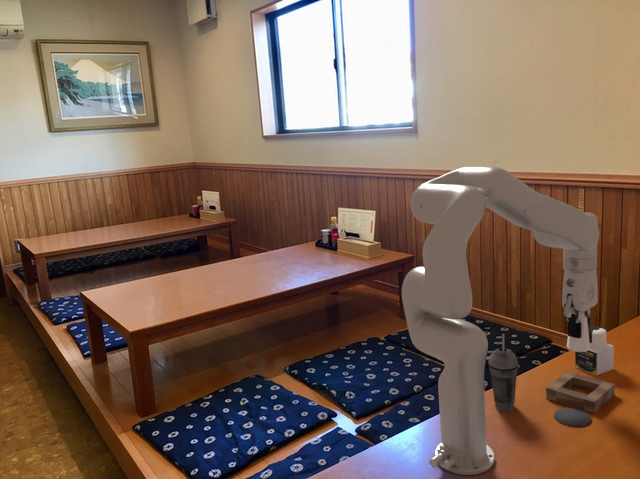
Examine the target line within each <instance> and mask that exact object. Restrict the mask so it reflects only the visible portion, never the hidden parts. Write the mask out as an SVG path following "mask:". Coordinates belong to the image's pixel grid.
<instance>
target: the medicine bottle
mask: <svg viewBox="0 0 640 479" xmlns="http://www.w3.org/2000/svg"><path fill="white" fill-rule="evenodd" d="M589 342H590V350H588V351H586V352H575V351H574V353H575V354H574V357H575V358H574V360H575V363H574V364H575V368H577V369H579V370H581V371H584V372H585V373H588V374H591V375H594V376H599V375H602V374H605V373H607V372H611V371H613V370H614V368H615V364H614V362H615V361H614V360H615V347H614V345H613V344H609V343H607V330H606V329H605V328H603V327H600V326H597V325H596V326H595V325H590V331H589Z"/></svg>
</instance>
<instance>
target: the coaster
mask: <svg viewBox="0 0 640 479" xmlns="http://www.w3.org/2000/svg"><path fill="white" fill-rule="evenodd" d="M554 419H555V420H556V421H557V422H558V423H559V424H561V425H565V426H568V427H574V428H583V427H586V426H588V425H589V424H591V422H592V417H591V415H590V414H589V413H588V412H587V411H584V410H581V409H578V408H575V407H563V408H559V409H557V410H555V412H554Z"/></svg>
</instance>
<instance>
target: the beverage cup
mask: <svg viewBox="0 0 640 479" xmlns="http://www.w3.org/2000/svg"><path fill="white" fill-rule="evenodd" d="M501 339H502V340H501V342H502V346H501V347H500V348H497V349H494V350H493V351H492V352H491V354H490V355H489V357H488V362H487V363H488V364H487V365H488V368H489V373H490V378H491V385H492V391H493V392H492V393H493V399H494V400H493V401H494V405H495V408H496V409H497V410H498V411H504V412H509V411H513V409H514V408H515V403H516V402H515V401H516V400H515V399H516V387H517V386H516V385H517V375H518V370H519V367H520V366H519V362H518V358H517V356H516V354H515V353H514V352H513V351H512V350H510V349H508V348H505V333H502V334H501Z"/></svg>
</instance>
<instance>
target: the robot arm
mask: <svg viewBox="0 0 640 479" xmlns="http://www.w3.org/2000/svg"><path fill="white" fill-rule="evenodd" d="M409 206H410V208H409V209H410V211H411V214H412V216H414V218H415V219H417V220H418V221H419V222H422V223H424V224H429V225H433V227H432V228H431V230H430V232H429V233H428V235H427V237H426V239H425V241H424V243H423V247H422V261H423V262H422V263H423V266H416V267H414V268H412V269H411V270H409V272H407V274H406V275H405V277H404V279H403V282H402V286H401V299H402V300H401V301H402V305H403V311H404V315H405V320H406V323H407V324H406V326H407V330H408V334H409V336H410V340H411V343H412V344H413V346H414V347H415V348H416V349H417V351H418V350H419V351H420V352H421V353H424V354H426V355H429V356H430V357H432V358H436V359H437V360H439V361H441V362H443V364H444V368H443V370H442V372H441V373H440V374H439V377H438V384H437V385H438V386H437V389H438V403H439V405H438V406H439V408H438V409H439V423H440V441H441V442H440V443H439V444H438V445H437V446H436V448H435V449H434V450H435V451H434V456H433V457H432V458H430V459H429V465H430V466H431V468H434V469H436V468H437V467H438V466H439V467H440V468H443V469H444V470H446V471H447V472H450V473H452V474H456V475H462V476H474V475H479V474H482V473H485V472H487V471H489V470H490V469H491V468H492V467H493V466H494V464H495V453H494V451H493V449H492V448H491V447H490V446H489V445H488V444H487V425H486V424H487V423H486V402H485V401H486V399H485V397H486V396H485V366H486V360H487V354H488V350H489V349H488V348H489V346H488V345H489V342H488V338H487V335H486V333H485V332H484V331H483V330H482V329H481V328H480V327H479V326H478V325H475V324H474V323H472V322H469V321H466V320H463V318H465V317H467V316H468V315H469V314H470V313H471V311H472V309H473V308H472V307H473V292H472V285H471V281H470V274H469V267H468V263H467V260H468V259H467V252H466V251H467V245H468V243H469V240H470V237H471V235H472V233H473V232H474V230H475V229H476V227H477V226H478V224H479V223H480V222H481V220H482V218H483V217H484V215H485V211H486V209H488V210H490V211H492V212H493V213H495V214H497V215H498V216H500V217H501V218H503V219H505V220H506V221H507V222H509V223H511V224H512V225H514V226H516V227H519V228H523V229H526V230H529V231H532V234H533V238H534V239H535V241H536V242H537V243H538V244H540V245H542V246H543V247H544V246H545V247H548V248H553V249H554V248H555V249H562V270H564V272H563V273H564V274H563V281H562V294H561V296H562V298H561V301H562V302H561V303H562V308H563V316H565V317H566V321H567V326H566V327H567V332H566V333H567V337H568V336H570V337H575V338H581V327H582V323H581V322H580V316H581V312H584V311H585V313H584V314H585V316H586V317H587V322H588V332H589V331H590V326H591V325H590V324H591V323H590V321H591V320H590V319H591V309H592V308H593V307H595V306H596V305H597V304H598V302H599V289H598V288H599V285H598V274H597V273H598V272H597V268H598V264H597V263H598V242H599V239H600V230H599V229H600V228H599V227H598V226H599V222H598V216H597V215H596V214H595V213H592V212H587V211H585V212H584V211H583V210H581V209H579V208H577V207H575V206H573V205H571V204H568V203H565V202H563V201H561V200H558V199H555V198H553V197H550V196H548V195H546V194H543V193H540V192H537V190H534V189H533V188H531V187H530V186H528V185H527V184H526V183H524V182H523V181H522V180H521V179H519V178H517V177H516V176H515V175H513V174H512V173H511V172H509V171H508V170H506V169H504V168H501V167H497V166H465V167H459V168H458V169H456V170H452V171H450V172H447V173H445V174H443V175H440V176H439V177H436V178H433V179H431V180H428V181H425V182H423V183H422V184H420V185H419V186H418V187H417V188H416V189H415V190H414V191H413V192H412V195H411V197H410V201H409ZM573 307H575V309H573ZM573 312H575V313H576V315H575V314H573Z"/></svg>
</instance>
